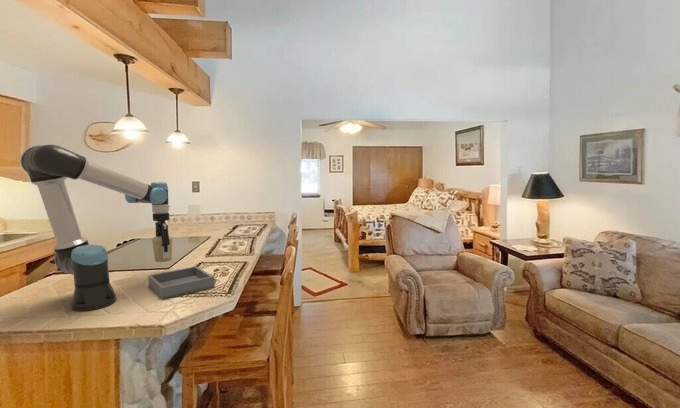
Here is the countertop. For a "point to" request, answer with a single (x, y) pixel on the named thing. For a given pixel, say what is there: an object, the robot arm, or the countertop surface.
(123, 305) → the countertop surface
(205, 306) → the countertop surface
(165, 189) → the robot arm
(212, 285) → the walled box
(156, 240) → the coffee cup
